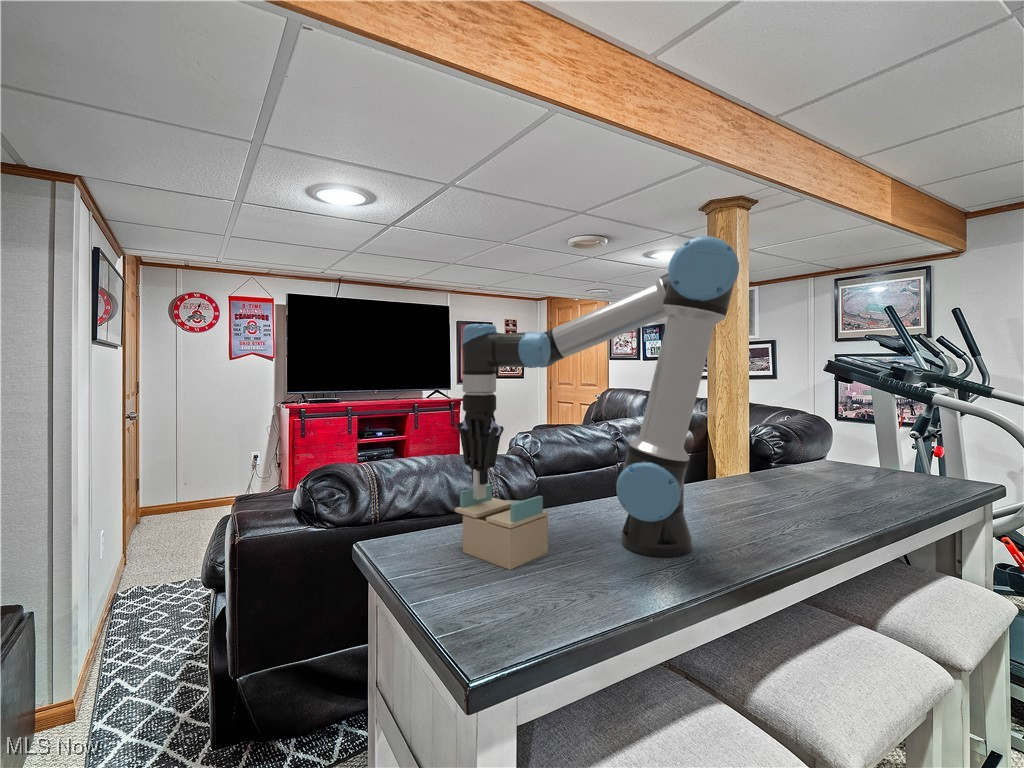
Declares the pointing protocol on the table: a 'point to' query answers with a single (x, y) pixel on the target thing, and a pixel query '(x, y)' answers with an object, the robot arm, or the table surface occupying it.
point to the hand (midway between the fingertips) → (479, 497)
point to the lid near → (520, 513)
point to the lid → (480, 503)
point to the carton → (505, 540)
